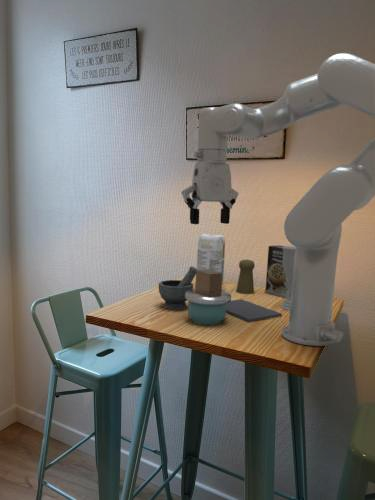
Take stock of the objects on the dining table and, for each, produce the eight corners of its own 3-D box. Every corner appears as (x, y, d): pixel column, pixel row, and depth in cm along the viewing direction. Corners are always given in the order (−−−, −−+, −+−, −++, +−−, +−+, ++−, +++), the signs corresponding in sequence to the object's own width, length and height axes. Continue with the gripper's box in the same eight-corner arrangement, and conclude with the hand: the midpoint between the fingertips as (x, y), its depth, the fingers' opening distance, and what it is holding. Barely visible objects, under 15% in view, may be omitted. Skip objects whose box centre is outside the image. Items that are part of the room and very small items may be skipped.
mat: (281, 316, 119) (281, 313, 119) (249, 322, 113) (249, 319, 112) (241, 301, 133) (241, 299, 133) (210, 306, 127) (210, 303, 126)
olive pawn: (253, 294, 143) (255, 262, 141) (235, 293, 144) (237, 260, 143) (254, 290, 149) (256, 259, 147) (237, 289, 150) (238, 258, 149)
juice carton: (219, 294, 142) (222, 236, 139) (194, 291, 144) (196, 235, 142) (223, 289, 149) (226, 234, 146) (199, 286, 151) (202, 233, 149)
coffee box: (264, 292, 146) (267, 245, 144) (275, 290, 150) (278, 244, 148) (286, 298, 140) (290, 249, 137) (298, 295, 144) (301, 248, 142)
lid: (240, 301, 110) (242, 274, 109) (202, 307, 104) (203, 277, 103) (212, 291, 120) (213, 266, 119) (176, 295, 114) (177, 269, 113)
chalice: (282, 303, 134) (286, 245, 131) (303, 306, 130) (308, 247, 128) (274, 308, 127) (278, 248, 125) (297, 312, 124) (302, 250, 121)
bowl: (233, 323, 112) (234, 300, 111) (202, 329, 106) (203, 305, 105) (210, 313, 120) (211, 292, 119) (180, 318, 114) (181, 296, 113)
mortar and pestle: (157, 310, 120) (159, 268, 118) (158, 302, 129) (159, 262, 127) (198, 311, 120) (199, 269, 119) (195, 303, 130) (197, 263, 128)
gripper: (191, 154, 104) (189, 225, 106) (247, 159, 113) (244, 224, 115) (176, 156, 110) (174, 223, 113) (229, 160, 119) (227, 222, 122)
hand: (209, 223), depth 114 cm, fingers open, 9 cm apart
